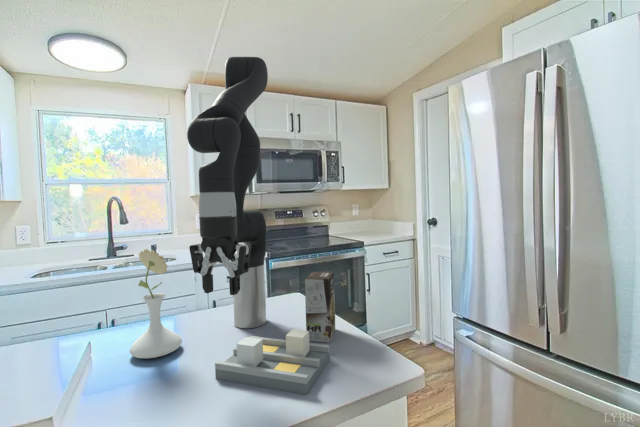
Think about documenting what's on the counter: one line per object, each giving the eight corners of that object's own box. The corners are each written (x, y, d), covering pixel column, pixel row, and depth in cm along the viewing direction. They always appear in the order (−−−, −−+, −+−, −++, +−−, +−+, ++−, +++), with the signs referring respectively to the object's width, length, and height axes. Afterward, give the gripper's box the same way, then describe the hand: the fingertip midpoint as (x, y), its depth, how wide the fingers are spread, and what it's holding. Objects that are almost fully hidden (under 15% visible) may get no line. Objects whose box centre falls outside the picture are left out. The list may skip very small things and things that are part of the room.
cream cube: (286, 355, 72) (285, 335, 72) (293, 348, 76) (292, 329, 76) (303, 358, 71) (302, 337, 71) (309, 350, 74) (309, 331, 74)
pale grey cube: (237, 365, 69) (236, 344, 69) (246, 357, 72) (246, 337, 72) (254, 367, 68) (253, 346, 67) (263, 359, 71) (262, 339, 71)
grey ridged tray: (215, 378, 68) (214, 363, 68) (251, 348, 82) (250, 335, 82) (306, 394, 62) (306, 377, 62) (329, 359, 75) (329, 345, 75)
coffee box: (330, 343, 84) (329, 279, 83) (305, 341, 85) (303, 278, 84) (336, 328, 93) (334, 270, 92) (313, 327, 94) (311, 270, 93)
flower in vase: (190, 350, 82) (185, 248, 80) (140, 369, 73) (134, 255, 72) (167, 336, 90) (163, 244, 89) (120, 351, 82) (115, 250, 81)
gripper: (177, 215, 69) (181, 296, 70) (237, 214, 65) (241, 300, 66) (201, 213, 77) (204, 286, 77) (257, 212, 72) (260, 290, 73)
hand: (221, 292), depth 71 cm, fingers open, 5 cm apart
